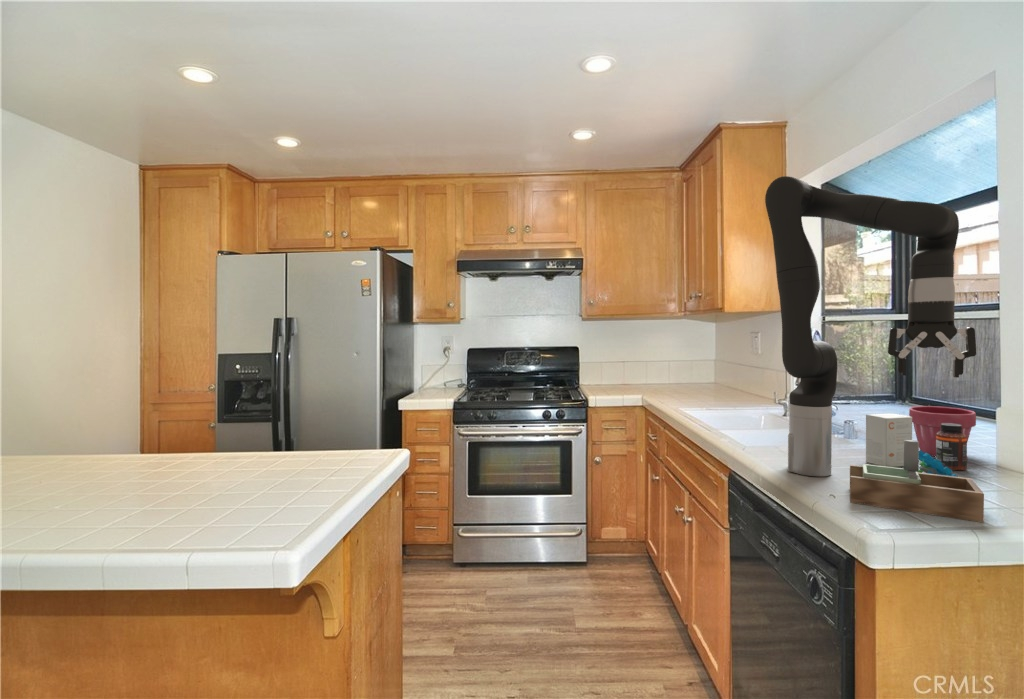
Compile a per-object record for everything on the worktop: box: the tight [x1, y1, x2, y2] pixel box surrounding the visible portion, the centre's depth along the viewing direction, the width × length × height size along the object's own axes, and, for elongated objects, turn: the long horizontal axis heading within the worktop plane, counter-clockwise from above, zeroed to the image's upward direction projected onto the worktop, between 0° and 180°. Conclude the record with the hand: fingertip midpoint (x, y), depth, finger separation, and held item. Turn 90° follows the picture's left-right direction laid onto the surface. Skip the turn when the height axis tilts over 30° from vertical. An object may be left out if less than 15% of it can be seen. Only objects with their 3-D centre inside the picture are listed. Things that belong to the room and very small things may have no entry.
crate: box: [862, 439, 921, 484], centre depth 103 cm, size 9×8×12 cm
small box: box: [865, 413, 913, 468], centre depth 131 cm, size 8×6×13 cm
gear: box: [918, 449, 959, 477], centre depth 115 cm, size 11×6×10 cm
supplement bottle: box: [935, 423, 968, 471], centre depth 126 cm, size 6×6×11 cm
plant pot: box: [908, 405, 977, 457], centre depth 139 cm, size 14×14×13 cm
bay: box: [849, 464, 985, 523], centre depth 101 cm, size 20×11×5 cm, turn 56°
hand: (929, 376), depth 105 cm, fingers open, 8 cm apart
